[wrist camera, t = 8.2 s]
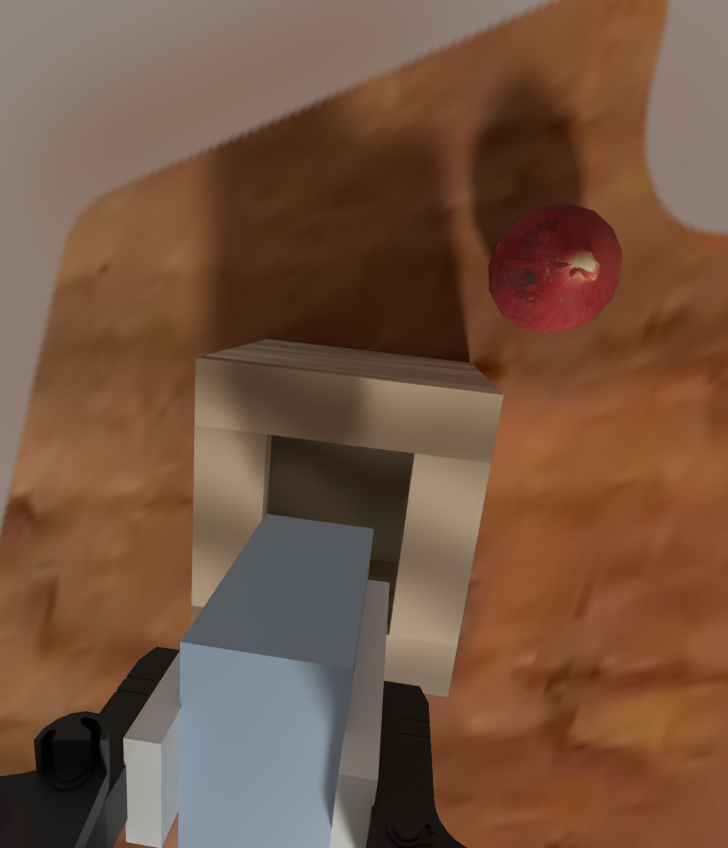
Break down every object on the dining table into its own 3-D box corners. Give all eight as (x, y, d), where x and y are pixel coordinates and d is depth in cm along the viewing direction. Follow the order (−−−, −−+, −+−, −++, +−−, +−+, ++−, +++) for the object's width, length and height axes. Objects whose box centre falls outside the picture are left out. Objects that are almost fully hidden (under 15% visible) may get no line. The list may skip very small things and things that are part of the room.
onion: (481, 333, 27) (510, 346, 20) (475, 226, 26) (504, 194, 18) (587, 322, 27) (660, 331, 19) (587, 212, 25) (666, 172, 18)
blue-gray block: (266, 513, 15) (180, 641, 10) (373, 528, 15) (352, 669, 9) (256, 668, 17) (178, 860, 11) (354, 684, 17) (326, 887, 11)
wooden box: (267, 338, 28) (195, 357, 19) (470, 362, 28) (503, 395, 18) (256, 549, 32) (190, 656, 22) (435, 575, 31) (447, 696, 22)
